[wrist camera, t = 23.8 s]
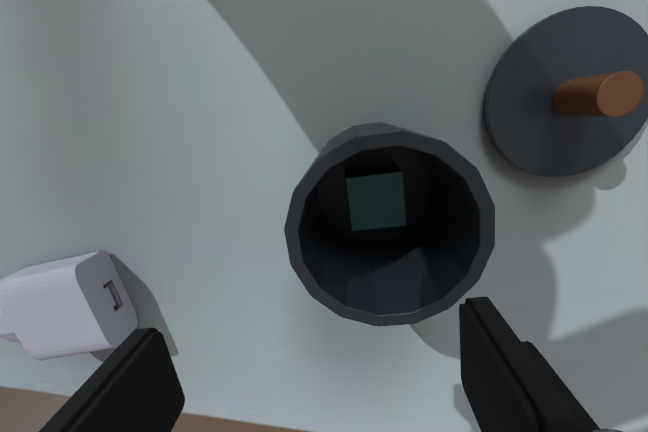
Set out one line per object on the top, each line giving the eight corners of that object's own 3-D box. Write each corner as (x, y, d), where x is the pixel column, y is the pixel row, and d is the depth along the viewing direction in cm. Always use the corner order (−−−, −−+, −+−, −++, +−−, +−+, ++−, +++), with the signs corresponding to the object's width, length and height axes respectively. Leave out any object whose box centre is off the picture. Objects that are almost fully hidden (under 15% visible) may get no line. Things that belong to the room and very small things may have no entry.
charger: (-14, 273, 36) (107, 247, 34) (26, 343, 39) (141, 322, 37) (-65, 296, 32) (70, 268, 30) (-16, 373, 34) (112, 352, 32)
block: (345, 168, 30) (345, 177, 26) (395, 162, 29) (403, 170, 25) (351, 215, 31) (351, 231, 27) (398, 210, 31) (406, 225, 26)
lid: (481, 25, 26) (520, 0, 20) (657, -4, 25) (753, -39, 19) (481, 182, 30) (514, 199, 24) (634, 164, 28) (709, 178, 23)
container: (300, 132, 30) (269, 147, 18) (434, 114, 28) (496, 116, 16) (319, 252, 33) (302, 332, 21) (439, 240, 32) (493, 318, 20)
